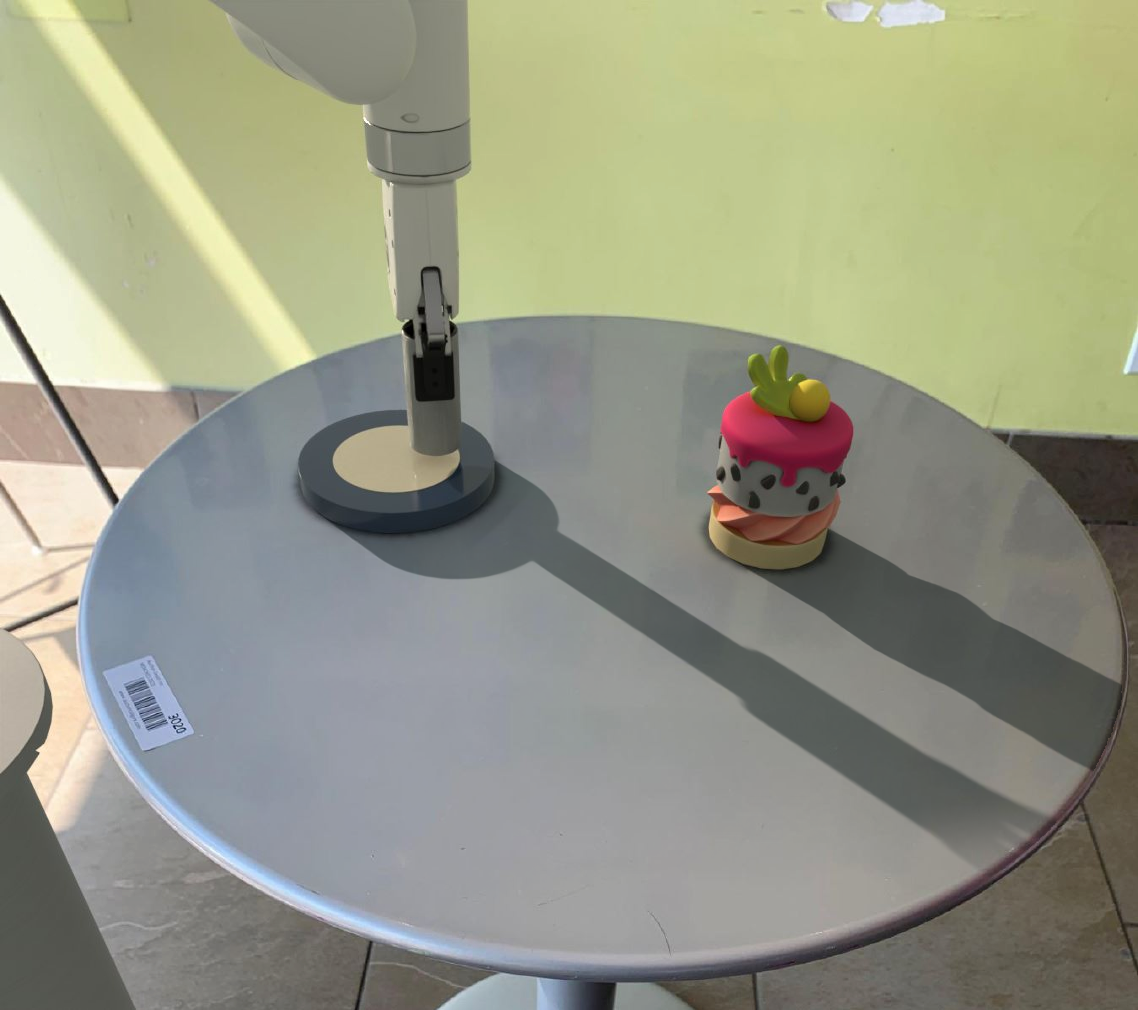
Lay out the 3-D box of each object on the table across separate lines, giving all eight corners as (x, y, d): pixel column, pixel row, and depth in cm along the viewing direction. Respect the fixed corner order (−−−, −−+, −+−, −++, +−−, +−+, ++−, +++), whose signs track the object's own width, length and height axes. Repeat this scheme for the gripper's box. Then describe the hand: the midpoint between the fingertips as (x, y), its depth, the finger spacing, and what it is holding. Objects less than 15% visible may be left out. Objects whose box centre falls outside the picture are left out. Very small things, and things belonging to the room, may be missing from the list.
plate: (303, 541, 91) (299, 520, 90) (298, 435, 103) (295, 415, 101) (507, 525, 94) (507, 504, 92) (480, 423, 105) (480, 403, 104)
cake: (845, 523, 96) (887, 357, 85) (802, 587, 89) (841, 416, 78) (733, 488, 99) (760, 324, 88) (684, 546, 93) (706, 377, 82)
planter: (471, 438, 97) (468, 324, 90) (444, 462, 94) (438, 346, 87) (427, 425, 99) (420, 311, 91) (399, 448, 96) (390, 332, 88)
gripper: (358, 109, 85) (379, 340, 98) (373, 188, 73) (394, 438, 86) (456, 107, 86) (463, 335, 99) (486, 185, 74) (490, 432, 87)
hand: (431, 381), depth 92 cm, fingers closed on planter, 4 cm apart
